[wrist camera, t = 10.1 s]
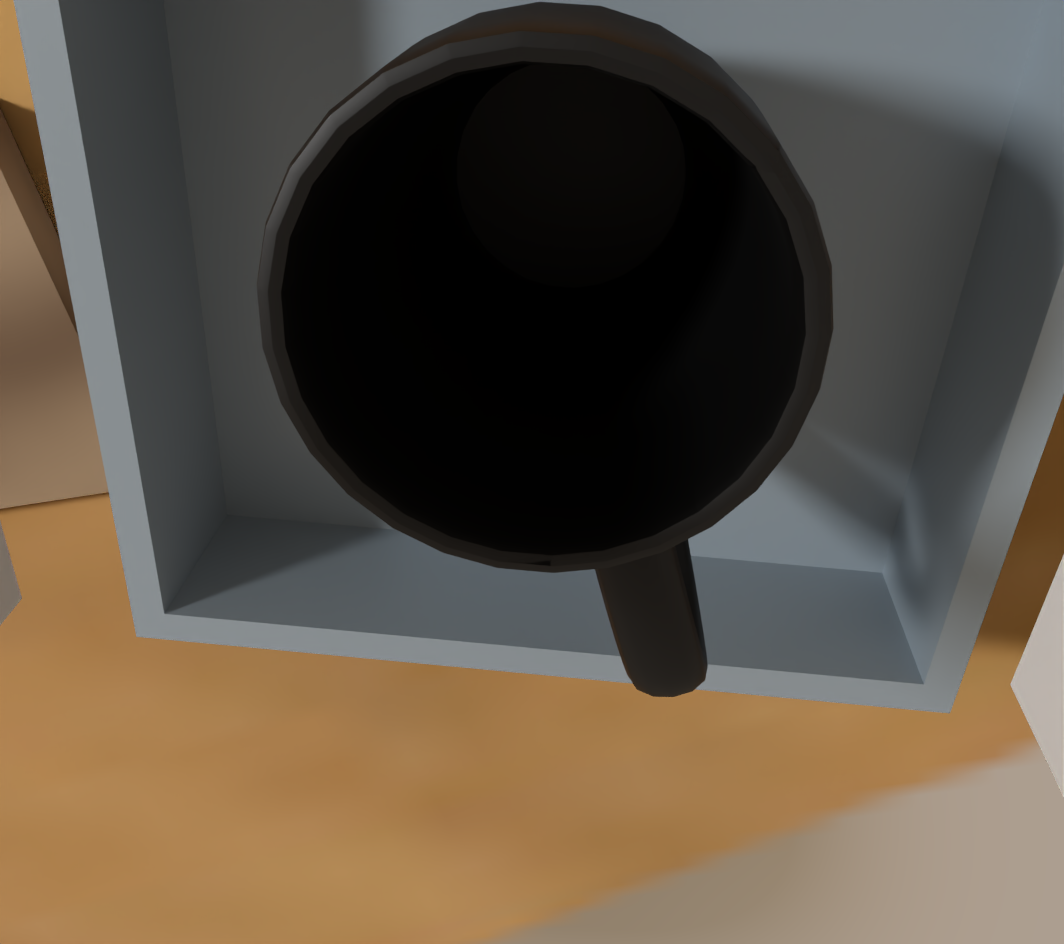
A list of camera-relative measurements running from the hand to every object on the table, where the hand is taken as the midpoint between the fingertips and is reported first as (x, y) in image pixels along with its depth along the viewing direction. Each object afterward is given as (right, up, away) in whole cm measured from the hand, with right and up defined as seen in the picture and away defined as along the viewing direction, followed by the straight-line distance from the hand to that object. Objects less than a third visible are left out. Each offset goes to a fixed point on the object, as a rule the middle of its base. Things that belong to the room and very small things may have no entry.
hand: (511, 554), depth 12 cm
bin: (+1, +6, +12) cm, 13 cm away
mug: (+2, +6, +11) cm, 13 cm away
